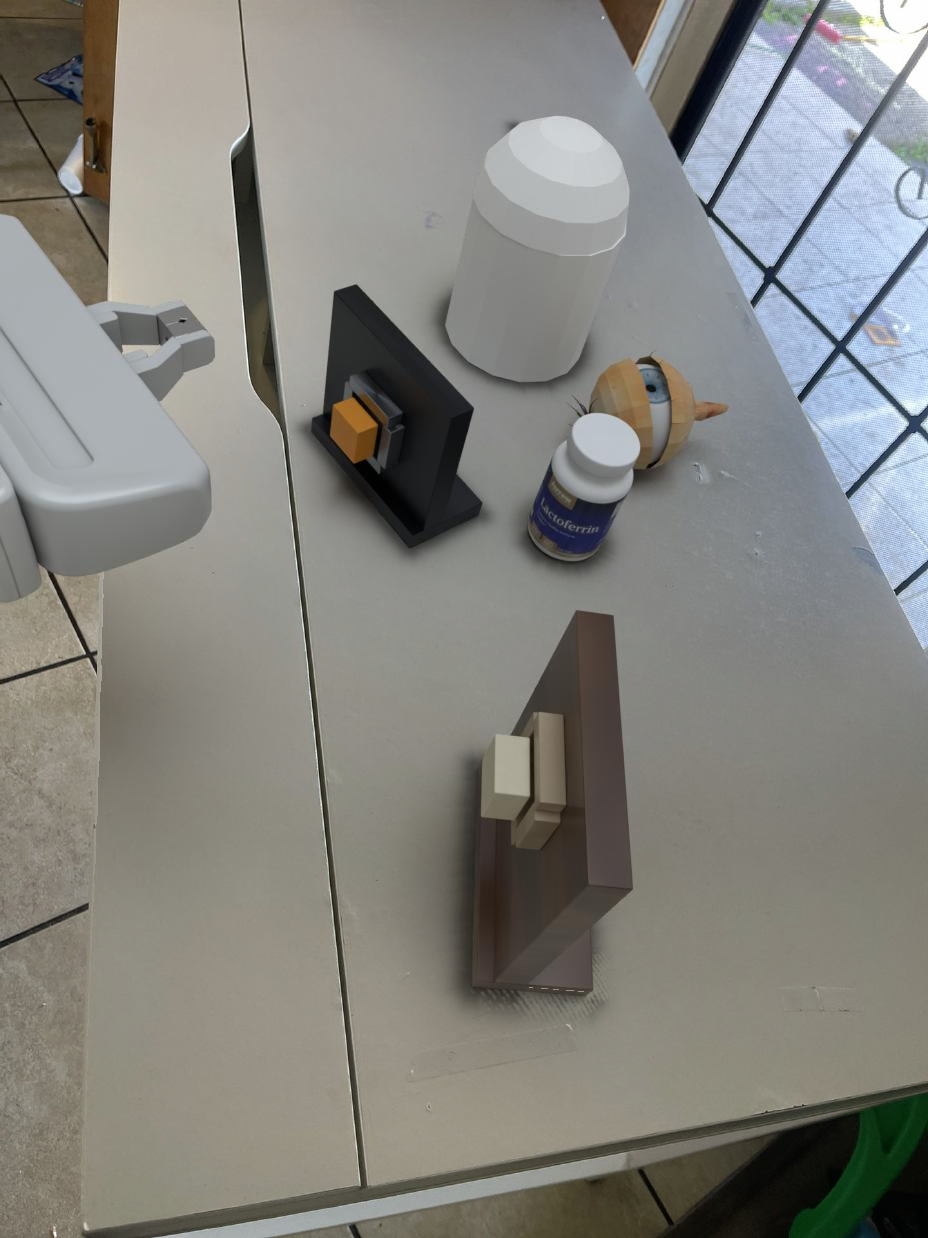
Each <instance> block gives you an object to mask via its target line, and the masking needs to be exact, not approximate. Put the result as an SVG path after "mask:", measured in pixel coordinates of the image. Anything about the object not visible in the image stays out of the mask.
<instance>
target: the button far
mask: <svg viewBox="0 0 928 1238" xmlns="http://www.w3.org/2000/svg"><path fill="white" fill-rule="evenodd" d="M377 429H378V424H377V423H376V422H375V421H374V420H373V419H372V418H371V416H370V415H369V414H368V413H367V412H366V411H365V410H364V409H363V407H362V406H361V405H360V404H359V403H358V402H357V401H356V400H355V398H353V397H352V398H350V399H347V400H344V401H342V402H339V403H337V404H334V405H333V412H332V421H331V431H330V436H331V438H332V439H333V440H334V441H335V442H336V443H337V445H338V446H339V447H340V448H341V449H342V451H343V452H344V453H345V454H346V455H347V456H348V458H349V459H350V460H351V461H352V462H353V463H357V462H359V461H362V460H364V459H366V458H369V457H371V456H373V454H374V448H375V442H376V436H377Z"/></svg>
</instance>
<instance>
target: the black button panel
mask: <svg viewBox="0 0 928 1238" xmlns="http://www.w3.org/2000/svg"><path fill="white" fill-rule="evenodd" d="M331 306H332V307H331V318H330V329H329V340H328V349H327V350H328V351H327V360H326V362H327V363H326V371H325V372H326V373H325V383H324V395H323V403H322V404H323V405H322V413H321V414H319V415H315V416H313V417H312V418H311V425H310V426H311V427H310V428H311V429H310V431H311V433H312V434H313V435H314V437H316V439H317V440H318V441H319V442H320V443H321V444H322V446H323V447H324V448H325V449H326V450H327V451H328V453H329V454H330V455H331V456H332V458H333V459H334V460H335V461H336V462H337V464H339V466H340V467H341V468H342V469H343V471H344V472H345V473H346V474H347V475H348V476H349V478H350V479H351V480H352V481H353V482H354V483H355V485H356V486H357V487H358V488H359V490H360V491H361V492H362V494H364V496H365V497H366V498H367V499H368V500H369V501H370V503H371V504H372V505H373V506H374V507H375V508H376V510H377V511H378V512H379V514H380V515H382V517H383V518H384V519H385V520H386V522H387V523H388V524H389V525H390V526H391V528H392V529H393V530H394V531H395V532H396V533H397V535H398V536H399V537H400V538H401V540H403V541H404V543H405V544H406V545H407V546H408V548H409V549H411V548H413V547H416V546H417V545H420V544H421V543H423V542H426V541H427V540H429V539H432V538H434V537H436V536H438V535H441V534H442V533H445V532H446V531H448V530H450V529H452V528H454V527H456V526H458V525H460V524H462V523H465V522H467V521H468V520H470V519H473V518H474V517H477V516H479V515H480V512H481V509H482V507H483V501H482V500H481V499H480V498H479V497H478V496H477V494H475V492H474V491H473V490H472V489H471V488H470V487H469V486H468V485H467V483H466V482H465V481H464V480H463V478H461V477H460V476H459V474H458V470H459V466H460V462H461V459H462V455H463V451H464V448H465V444H466V441H467V437H468V433H469V429H470V427H471V422H472V419H473V414H474V412H475V407H474V406H473V405H472V404H471V403H470V402H469V401H468V400H467V398H466V397H465V396H464V395H463V394H462V393H461V392H460V391H459V390H458V389H457V388H456V387H455V386H454V385H453V384H452V383H451V382H450V381H449V380H448V378H447V377H446V376H445V375H444V374H443V373H442V372H441V371H440V370H439V368H437V367H436V366H435V365H434V364H433V363H432V362H431V361H430V360H429V358H428V357H426V355H424V353H423V352H422V351H421V350H420V349H419V348H418V347H417V345H415V343H413V342H412V340H410V338H409V337H408V336H407V335H406V334H405V333H404V332H403V331H402V330H401V328H399V327H398V326H397V325H396V324H395V323H394V322H393V321H392V320H391V318H389V316H388V315H387V314H386V313H385V312H384V311H383V310H382V309H381V308H380V307H379V306H378V305H377V304H376V303H375V302H374V301H373V299H372V298H370V296H368V294H367V293H366V292H365V291H364V290H363V289H362V288H361V287H360V285H359V284H357V283H355V284H352V285H349V286H346V287H342V288H339V289H336V290H333V297H332V305H331ZM352 397H353V398H355V400H356V401H357V402H358V403H359V404H360V405H361V406H362V407H363V409H364V410H365V411H366V412H367V413H368V414H369V415H370V416H371V418H372V419H373V420H374V421H375V422H376V423H377V424H378V429H377V436H376V442H375V448H374V454H373V456H371V457H369V458H366V459H364V460H362V461H359V462H357V463H353V462H352V461H351V460H350V459H349V458H348V456H347V455H346V454H345V453H344V452H343V451H342V449H341V448H340V447H339V446H338V445H337V443H336V442H335V441H334V440H333V439H332V438H331V436H330V431H331V421H332V412H333V405H334V404H337V403H339V402H342V401H344V400H347V399H350V398H352Z"/></svg>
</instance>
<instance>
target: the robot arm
mask: <svg viewBox="0 0 928 1238" xmlns="http://www.w3.org/2000/svg"><path fill="white" fill-rule="evenodd" d="M215 343H216V342H215V338H214V337H213V336H212V334H211V332H209V331H208V330H207V329H206V328H205V326H204V324H202V323H201V322H200V321H199V319H198V318H197V317H196V315H195V314H194V313H193V312H192V310H190V308H189V307H188V306H187V305H186V303H185V302H184V301H182V300H178V299H176V300H173V301H169V302H167V303H163V304H162V303H161V304H159V305H155V306H152V307H150V305H143V304H142V305H141V304H137V303H136V304H135V303H127V302H119V301H112V300H111V301H110V300H105V301H101V302H96V303H93V304H90V305H86V304H84V303H83V301H82V300H81V299H80V297H79V296H78V295H77V294H76V292H75V290H74V289H73V288H72V287H71V286H70V284H69V283H68V281H67V280H66V279H65V278H64V277H63V275H62V274H61V272H59V269H57V267H56V266H55V264H54V263H53V262H52V261H51V260H50V258H49V257H48V255H47V254H46V253H45V252H44V250H43V249H42V248H41V247H40V245H39V244H38V243H37V241H36V240H35V239H34V237H33V236H32V235H31V233H30V232H29V231H28V230H27V228H26V227H25V226H24V225H23V223H22V222H21V220H19V218H17V217H16V216H13V215H9V214H4V213H0V603H12V602H16V601H19V600H21V599H23V598H25V597H28V596H30V595H32V594H33V593H35V592H36V591H38V590H39V589H40V587H41V586H42V583H43V581H42V580H43V579H42V578H43V577H42V574H41V570H40V567H42V568H43V569H45V570H46V571H48V572H50V573H52V574H54V575H57V576H62V577H74V578H77V577H85V576H92V575H96V574H100V573H105V572H107V571H110V570H114V569H116V568H119V567H122V566H127V565H129V564H132V563H134V562H137V561H140V560H143V559H145V558H148V557H151V556H153V555H155V554H159V553H161V552H163V551H165V550H168V549H171V548H174V547H175V546H178V545H180V544H182V543H184V542H187V541H188V540H190V539H192V538H194V537H195V536H197V535H198V534H199V533H201V531H202V530H203V528H204V526H205V525H206V523H207V522H208V519H209V518H210V516H211V513H212V510H213V507H212V506H213V500H212V499H213V496H212V495H213V493H212V481H211V473H210V469H209V466H208V464H207V462H206V461H205V460H204V458H203V457H202V456H201V454H200V453H199V452H198V451H197V449H196V448H195V447H194V445H193V444H192V443H191V441H190V439H188V437H186V435H185V433H184V432H183V431H182V430H181V429H180V427H179V426H178V425H177V423H176V422H175V420H174V419H173V418H172V417H171V415H170V414H169V413H168V412H167V411H166V409H165V407H164V406H163V405H162V403H160V402H162V401H163V400H164V399H165V398H166V396H167V395H168V394H169V393H170V392H171V391H172V389H173V388H174V387H175V386H176V384H177V383H178V382H179V381H180V380H181V379H182V377H183V376H184V375H185V373H187V372H190V371H193V370H196V369H199V368H201V367H205V366H207V365H210V364H211V363H213V361H214V359H215V358H216V345H215ZM123 346H160V347H159V348H158V349H157V350H156V351H155V352H154V353H152V354H151V355H150V356H149V354H148V353H147V351H145V350H144V349H137V350H134V351H131V352H127V353H125V354H123V352H124V350H123Z"/></svg>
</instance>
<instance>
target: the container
mask: <svg viewBox="0 0 928 1238" xmlns="http://www.w3.org/2000/svg"><path fill="white" fill-rule="evenodd" d="M486 151H487V152H486V154H485V156H484V159H483V160H482V163H481V165H480V167H479V170H478V171H477V174H476V176H475V179H474V183H473V187H472V192H471V196H472V199H471V203H470V208H469V212H468V218H467V222H466V227H465V230H464V231H465V232H464V235H463V241H462V246H461V250H460V255H459V259H458V264H457V269H456V273H455V277H454V282H453V287H452V293H451V295H450V301H449V305H448V310H447V313H446V314H447V315H446V319H445V323H444V326H445V329H446V333H447V334H448V338H449V340H450V344H451V345H452V346H453V348H455V350H457V352H458V353H459V354H460V355H461V356H462V357H463V358H464V359H465V360H466V361H467V362H468V363H469V364H471V365H472V366H475V367H477V368H478V369H480V370H482V371H484V372H486V373H487V374H489V375H491V376H493V377H497V378H502V379H506V380H509V381H514V382H518V383H539V382H540V383H541V382H543V383H544V382H548V381H552V380H553V379H555V378H559V377H561V376H563V375H566V374H568V373H569V371H571V369H572V368H573V367H574V366H575V364H576V363H578V362H579V360H580V357H581V355H582V353H583V349H584V347H585V344H586V341H587V339H588V337H589V333H590V331H591V328H592V325H593V323H594V320H595V317H596V315H597V313H598V309H599V307H600V304H601V301H602V299H603V296H604V293H605V291H606V289H607V288H606V287H607V285H608V283H609V280H610V278H611V275H612V272H613V269H614V267H615V265H616V261H617V258H618V256H619V253H620V251H621V248H622V246H623V243H624V241H625V239H626V234H627V220H628V213H629V205H630V191H631V190H630V189H631V188H630V185H629V181H628V178H627V175H626V172H625V167H624V163H623V160H622V159H621V157H620V155H619V153H618V152H617V150H616V148H615V147H614V145H612V144H611V143H610V142H609V141H608V140H607V139H606V138H605V137H604V136H603V135H602V134H601V133H600V132H598V131H597V130H596V129H595V128H594V127H593V126H591V125H590V124H589V123H587V122H584V121H582V120H580V119H577V118H574V117H570V116H566V115H565V116H563V115H553V116H552V115H551V116H546V117H541V118H536V119H531V120H525V121H522V122H519V125H518V124H517V125H516V126H514V127H513V128H512V129H511V130H509V131H508V132H507V133H506V134H505V135H503V137H502V138H500V139H499V140H498V141H497V142H496V143H494V145H492V146H491V147H490V148H489V149H487V150H486Z"/></svg>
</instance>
